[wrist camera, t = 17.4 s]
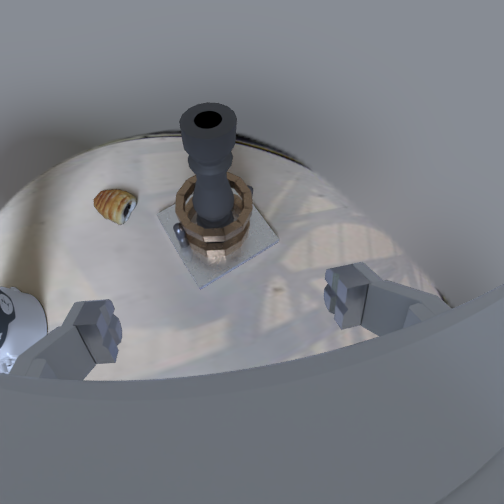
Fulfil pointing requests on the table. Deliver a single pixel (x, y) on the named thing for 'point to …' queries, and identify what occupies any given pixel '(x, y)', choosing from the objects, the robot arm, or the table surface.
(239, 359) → the table surface
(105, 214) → the pastry
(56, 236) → the table surface
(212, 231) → the collar stand
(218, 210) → the candle holder
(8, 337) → the robot arm
